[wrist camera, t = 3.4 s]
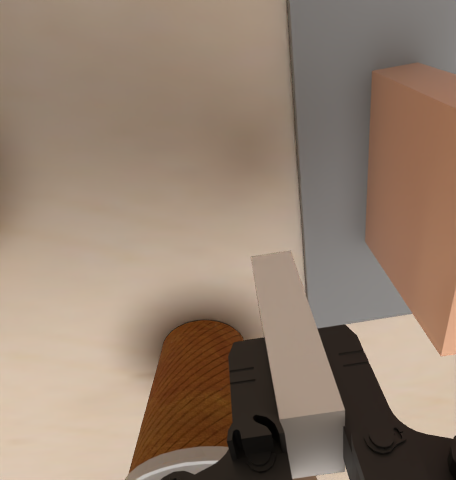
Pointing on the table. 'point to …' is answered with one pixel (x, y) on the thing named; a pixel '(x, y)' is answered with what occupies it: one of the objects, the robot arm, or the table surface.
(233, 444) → the robot arm
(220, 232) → the table surface
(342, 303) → the mat
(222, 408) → the disposable coffee cup
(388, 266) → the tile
